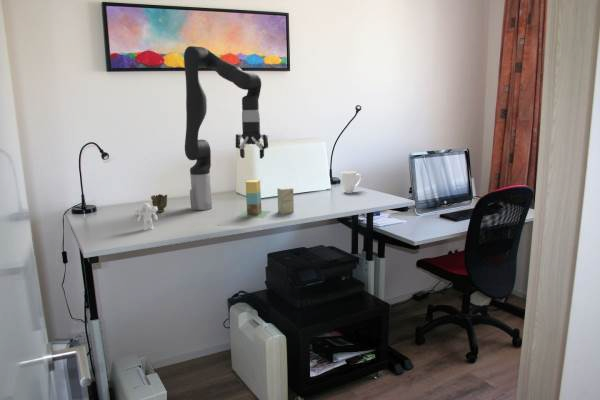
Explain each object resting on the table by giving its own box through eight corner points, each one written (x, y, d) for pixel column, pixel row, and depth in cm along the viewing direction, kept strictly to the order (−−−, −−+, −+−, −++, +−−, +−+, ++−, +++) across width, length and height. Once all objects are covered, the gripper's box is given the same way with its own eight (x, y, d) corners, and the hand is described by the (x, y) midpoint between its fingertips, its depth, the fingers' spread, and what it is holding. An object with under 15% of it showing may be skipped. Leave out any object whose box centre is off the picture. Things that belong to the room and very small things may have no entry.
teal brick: (246, 204, 209) (246, 193, 208) (250, 201, 214) (250, 190, 213) (257, 204, 208) (256, 193, 207) (260, 202, 213) (260, 191, 212)
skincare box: (281, 216, 212) (281, 189, 209) (277, 214, 215) (276, 188, 213) (294, 214, 214) (293, 188, 212) (290, 212, 218) (289, 186, 216)
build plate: (237, 219, 208) (236, 216, 208) (246, 212, 220) (246, 210, 219) (262, 220, 205) (262, 217, 205) (271, 213, 217) (271, 211, 216)
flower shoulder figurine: (159, 226, 200) (156, 198, 197) (160, 228, 196) (157, 200, 194) (136, 229, 196) (133, 201, 194) (137, 231, 193) (134, 202, 190)
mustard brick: (246, 193, 208) (245, 181, 207) (249, 190, 213) (249, 179, 212) (256, 193, 207) (256, 182, 206) (260, 191, 212) (260, 180, 211)
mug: (346, 194, 254) (346, 173, 252) (338, 192, 262) (338, 171, 259) (365, 192, 259) (365, 171, 257) (357, 189, 266) (357, 169, 264)
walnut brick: (247, 215, 211) (246, 204, 209) (251, 212, 215) (250, 201, 214) (257, 215, 209) (257, 204, 208) (261, 212, 214) (261, 202, 213)
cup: (171, 210, 227) (170, 194, 226) (161, 214, 221) (159, 197, 219) (159, 209, 230) (158, 193, 229) (149, 213, 224) (147, 196, 222)
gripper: (232, 121, 201) (233, 158, 205) (263, 121, 198) (264, 159, 201) (238, 120, 208) (240, 156, 212) (269, 120, 205) (270, 157, 208)
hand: (252, 158), depth 207 cm, fingers open, 8 cm apart
